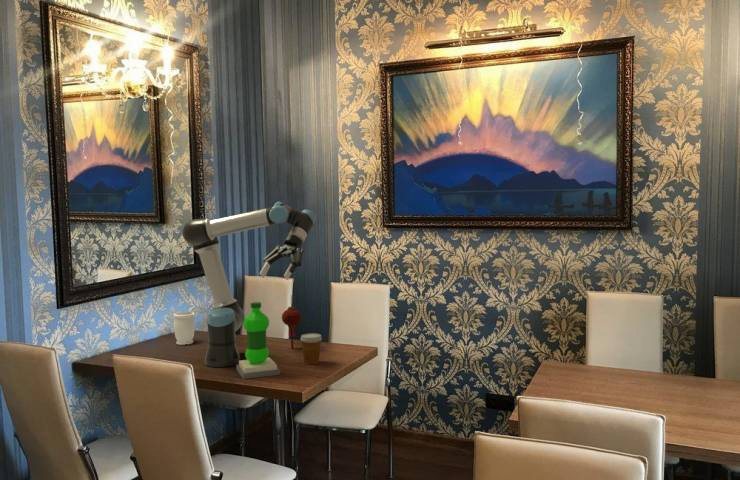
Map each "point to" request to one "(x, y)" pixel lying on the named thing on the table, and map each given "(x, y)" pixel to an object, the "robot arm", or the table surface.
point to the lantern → (291, 320)
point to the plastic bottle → (256, 335)
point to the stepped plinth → (257, 374)
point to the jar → (184, 327)
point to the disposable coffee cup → (311, 347)
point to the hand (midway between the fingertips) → (273, 276)
